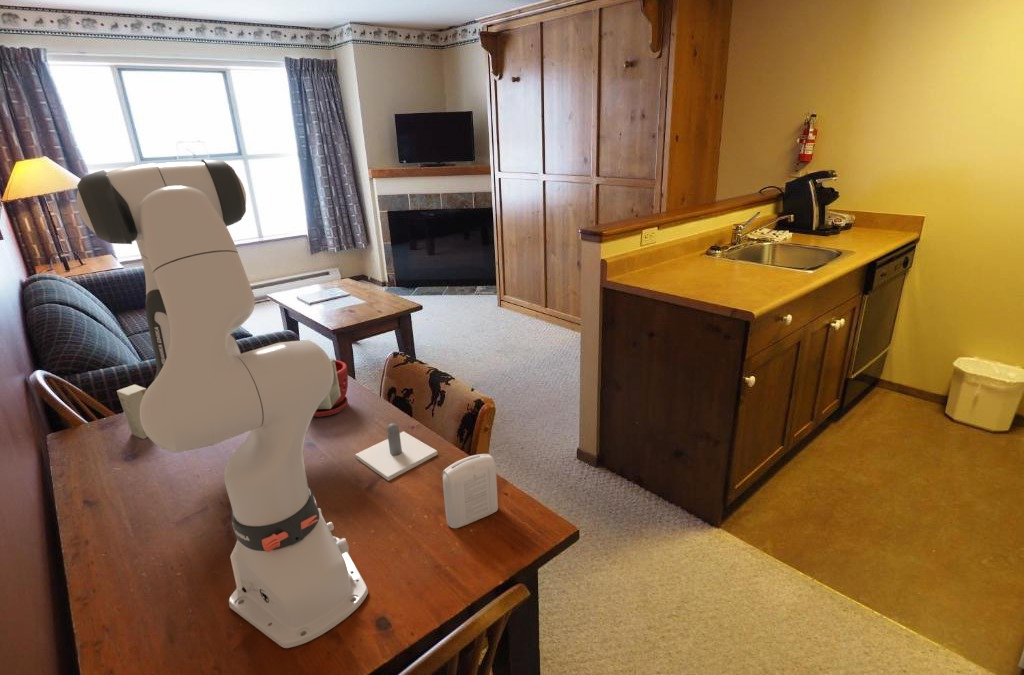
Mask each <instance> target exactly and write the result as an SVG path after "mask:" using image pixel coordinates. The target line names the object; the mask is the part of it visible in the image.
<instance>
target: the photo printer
mask: <svg viewBox="0 0 1024 675" xmlns="http://www.w3.org/2000/svg"><path fill="white" fill-rule="evenodd" d="M441 479H442V488H443V498H444V499H443V500H444V510H445V517H446V524H447V526H448V527H450V528H452V529H458V528H461V527H465V526H468V525H469V524H471V523H474V522H477V521H478V520H480V519H483V518H485V517H488V516H490V515H492V514H494V513H496V512H497V511H498V509H499V501H498V500H499V499H498V484H497V467H496V462H495V459H494V458H493V456H492V455H491V454H489V453H479V454H474V455H470V456H467V457H465V458H462V459H459V460H457V461H455V462H454V463H452V464H450V465H449V466H447V467H445V469H443V471H442V476H441Z"/></svg>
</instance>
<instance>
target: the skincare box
mask: <svg viewBox="0 0 1024 675" xmlns="http://www.w3.org/2000/svg"><path fill="white" fill-rule="evenodd" d="M147 389H148V388H146V387H143V386H140V385H138V384H132V385H129V386H127V387H123V388H120V389H118V390H116V392H117V396H118V400H119V401H120V405H121V407H122V410H123V413H124V416H125V418H126V422H127V423H128V427H129V430H130V433H131V435H133V436H135V437H137V438H140V439H142V440H144V439H147V438H149V437H148V436H147V435H146V433H145V431H144V430H143V427H142V425H141V421H140V405H141V401H142V398H143V396H144V394H145V392H146V390H147Z"/></svg>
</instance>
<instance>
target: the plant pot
mask: <svg viewBox="0 0 1024 675" xmlns="http://www.w3.org/2000/svg"><path fill="white" fill-rule="evenodd" d="M335 365H336V371H337V377H338V382H339V388H340V394H341V396H340V398H339V399H338V400H337V401H336V403H335V404H334V405H333V406H332V407H331V409H317V410H316V411H315V413H314V415H313V417H314V416H316V417H329V416H332V415H334V414H337V413H339V412H341V411H342V410H343V409H344V408H346V406H347V404H348V401H349V400H348V397H347V396H346V395H347V392H348V387H349V386H348V385H349V378H348V377H349V375H348V374H349V373H348V367H347V364H346V363H345V362H343V361H340V360H336V359H335Z"/></svg>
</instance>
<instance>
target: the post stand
mask: <svg viewBox="0 0 1024 675" xmlns="http://www.w3.org/2000/svg"><path fill="white" fill-rule="evenodd" d="M386 433H387V439H384V440H382V441H380V442H377V443H376V444H374V445H372V446H370V447H368V448H365V449H363V450H361V451H359V452H357V453H355V454H354V455H355V458H356V460H358V461H359V462H360V463H362V464H364V465H365V466H367V467H368V468H369V469H371V470H372V471H373V472H375V473H376V474H377V475H379V476H380V477H382V478H384V479H385V481H388V482H389V481H391V480H393V479H395V478H397V477H399V476H400V475H402V474H405V473H406V472H407V471H410V470H412V469H413V468H415V467H418V466H419V465H420V464H423V463H425V462H426V461H428V460H430V459H432V458H433V457H436V456H437V455H438V450H436V449H435V448H433V447H431V446H430V445H428V444H426V443H425V442H422V441H421V440H420V439H418V438H416V437H414V436H412V435H411V434H409V433H407V432H406V431H405V430H404V431H401V432H400V427H399V425H398V424H397V423H394V422H393V423H392V422H391V423H389V424H388V425H387V427H386Z"/></svg>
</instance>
